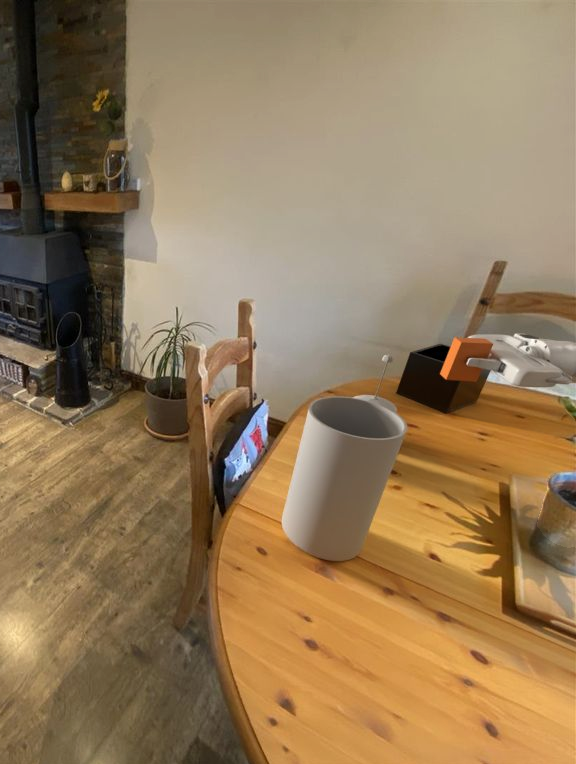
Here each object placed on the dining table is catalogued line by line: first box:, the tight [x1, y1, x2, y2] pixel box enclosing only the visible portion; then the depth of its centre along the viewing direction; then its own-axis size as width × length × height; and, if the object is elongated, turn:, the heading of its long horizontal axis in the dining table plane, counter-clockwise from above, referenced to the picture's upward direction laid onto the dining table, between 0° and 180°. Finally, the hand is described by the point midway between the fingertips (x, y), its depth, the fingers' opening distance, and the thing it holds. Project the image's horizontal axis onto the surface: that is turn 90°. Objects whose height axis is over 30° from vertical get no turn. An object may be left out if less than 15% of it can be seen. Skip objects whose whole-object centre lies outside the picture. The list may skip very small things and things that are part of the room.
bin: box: [395, 343, 492, 415], centre depth 110 cm, size 12×12×13 cm
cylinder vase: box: [281, 395, 408, 562], centre depth 69 cm, size 12×12×25 cm
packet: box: [440, 336, 493, 382], centre depth 91 cm, size 6×3×9 cm, turn 73°
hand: (461, 357), depth 91 cm, fingers closed on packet, 3 cm apart
